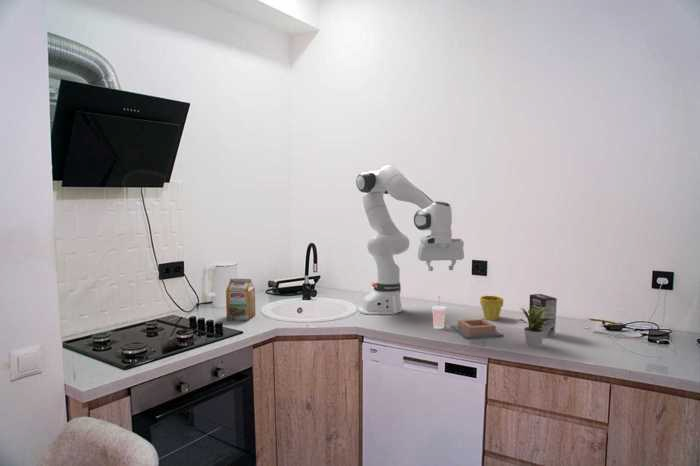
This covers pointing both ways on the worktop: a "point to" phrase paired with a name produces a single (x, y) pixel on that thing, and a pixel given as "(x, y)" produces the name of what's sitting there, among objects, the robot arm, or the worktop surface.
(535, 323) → the house plant
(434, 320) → the beverage cup
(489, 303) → the plant pot
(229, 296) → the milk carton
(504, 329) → the worktop surface
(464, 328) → the cup holder
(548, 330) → the coffee box
